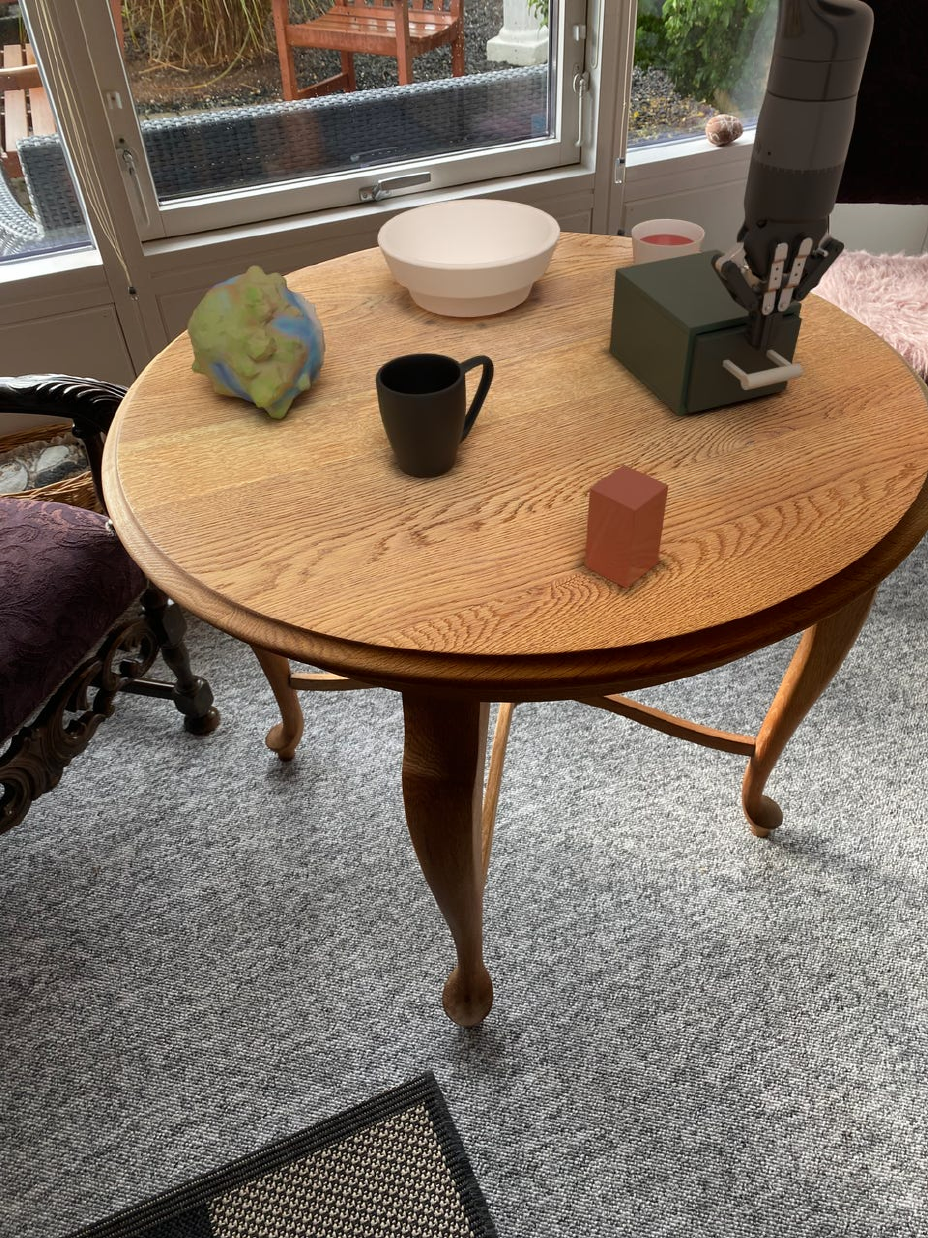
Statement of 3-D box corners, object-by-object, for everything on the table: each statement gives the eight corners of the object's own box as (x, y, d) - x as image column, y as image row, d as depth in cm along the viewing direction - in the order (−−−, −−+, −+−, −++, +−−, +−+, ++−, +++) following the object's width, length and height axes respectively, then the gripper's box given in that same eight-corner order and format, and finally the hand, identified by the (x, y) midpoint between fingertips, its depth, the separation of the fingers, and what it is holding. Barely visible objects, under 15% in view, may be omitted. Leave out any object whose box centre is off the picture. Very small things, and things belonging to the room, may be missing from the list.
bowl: (374, 272, 122) (367, 208, 116) (533, 253, 124) (534, 190, 119) (396, 346, 106) (389, 276, 100) (579, 323, 108) (583, 254, 103)
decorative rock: (309, 234, 91) (164, 248, 91) (308, 346, 83) (149, 362, 83) (334, 337, 103) (206, 349, 103) (335, 443, 95) (197, 457, 96)
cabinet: (782, 391, 95) (802, 303, 88) (677, 416, 92) (690, 327, 85) (704, 330, 106) (717, 248, 99) (609, 351, 103) (615, 268, 96)
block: (615, 541, 78) (623, 464, 72) (657, 563, 75) (669, 484, 70) (583, 566, 75) (589, 487, 70) (626, 589, 73) (635, 510, 68)
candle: (655, 262, 121) (660, 213, 116) (711, 279, 116) (719, 230, 112) (613, 283, 116) (616, 233, 112) (669, 302, 111) (676, 251, 107)
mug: (516, 454, 88) (517, 365, 82) (412, 496, 84) (403, 405, 77) (471, 419, 93) (468, 333, 87) (370, 456, 89) (359, 369, 82)
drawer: (814, 411, 90) (833, 339, 85) (715, 436, 87) (729, 363, 82) (711, 332, 103) (722, 265, 98) (623, 351, 101) (629, 283, 95)
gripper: (756, 176, 70) (720, 377, 82) (895, 152, 73) (841, 349, 85) (705, 150, 75) (679, 342, 87) (837, 128, 78) (794, 317, 90)
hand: (759, 345), depth 86 cm, fingers closed
